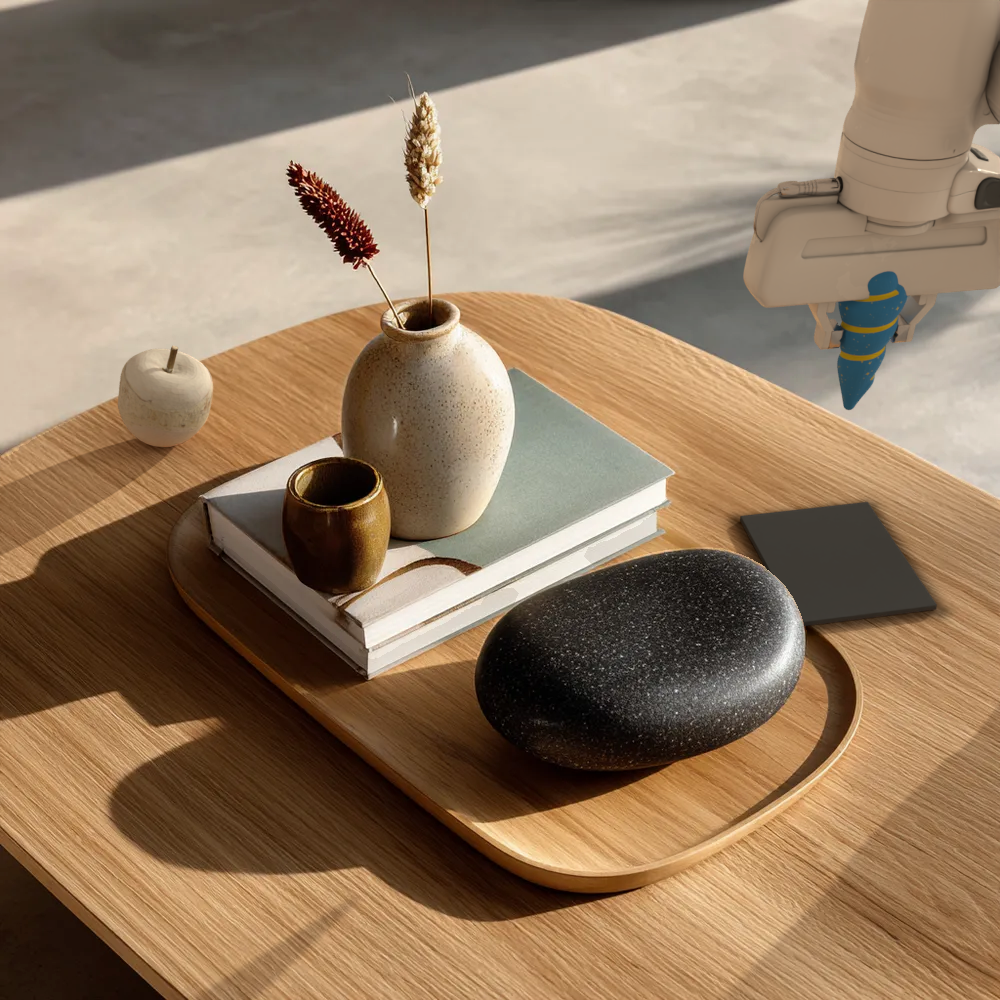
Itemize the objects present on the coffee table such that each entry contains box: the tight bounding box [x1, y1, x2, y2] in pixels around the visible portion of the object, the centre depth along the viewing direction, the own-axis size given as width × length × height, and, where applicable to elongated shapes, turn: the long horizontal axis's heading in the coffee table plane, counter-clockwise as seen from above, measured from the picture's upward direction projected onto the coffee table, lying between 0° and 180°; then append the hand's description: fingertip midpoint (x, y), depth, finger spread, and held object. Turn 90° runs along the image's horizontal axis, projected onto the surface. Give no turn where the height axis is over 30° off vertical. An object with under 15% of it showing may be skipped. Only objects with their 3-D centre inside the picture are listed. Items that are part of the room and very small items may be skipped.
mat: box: [739, 501, 938, 627], centre depth 113 cm, size 12×14×1 cm
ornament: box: [836, 271, 908, 411], centre depth 103 cm, size 5×5×15 cm
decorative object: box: [117, 345, 214, 448], centre depth 123 cm, size 9×9×10 cm
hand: (862, 342), depth 103 cm, fingers closed on ornament, 4 cm apart
